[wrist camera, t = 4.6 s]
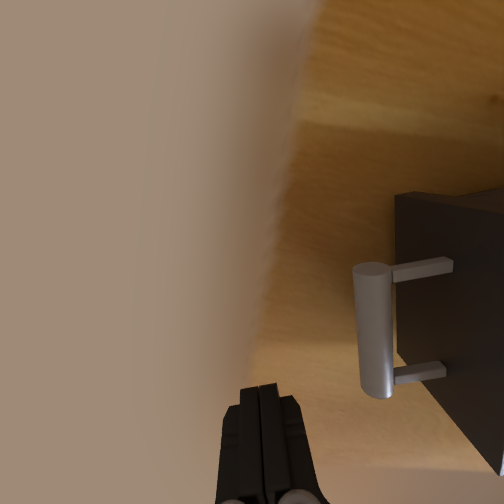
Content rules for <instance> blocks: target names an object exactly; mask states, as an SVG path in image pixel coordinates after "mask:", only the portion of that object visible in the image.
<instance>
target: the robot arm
mask: <svg viewBox="0 0 504 504" xmlns="http://www.w3.org/2000/svg"><path fill="white" fill-rule="evenodd" d="M215 504H330V503H329V502H328V501H327V500H326V499H325V497H324V496H323V494H322V492H321V490H320V488H319V486H318V482H317V478H316V474H315V470H314V465H313V461H312V457H311V452H310V448H309V444H308V439H307V435H306V431H305V426H304V422H303V418H302V413H301V409H300V406H299V404H298V403H297V401H296V400H295V399H294V397H293V396H292V395H290V396H285V397H280V396H279V391H278V387H277V383H273V384H267V385H261V386H259V387H258V386H256V387H250V388H245V389H241V390H240V404H239V405H233V406H229V408H228V410H227V412H226V415H225V417H224V419H223V427H222V437H221V449H220V459H219V470H218V480H217V491H216V500H215Z"/></svg>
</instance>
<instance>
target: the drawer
mask: <svg viewBox="0 0 504 504" xmlns="http://www.w3.org/2000/svg"><path fill="white" fill-rule="evenodd" d="M395 253H396V265H394V266H389V265H387V264H385V263H381V262H363V263H359V264H357V265H355V266H354V267H353V269H352V271H353V285H354V299H355V313H356V327H357V340H358V354H359V368H360V382H361V387H362V389H363V391H364V392H365V393H366V394H367V395H369V396H371V397H373V398H376V399H386V398H389V397H390V396H391V395H392V394H393V392H394V384H395V385H399V384H405V383H411V382H417V381H421V382H422V384H423V385H424V386H425V387H426V388H427V390H428V391H429V392H430V393H431V395H432V396H433V397H434V398H435V399H436V401H437V402H438V403H439V404H440V405H441V407H442V408H443V409H444V410H445V412H446V413H447V414H448V415H449V416H450V418H451V419H452V420H453V421H454V422H455V424H456V425H457V426H458V427H459V429H460V430H461V431H462V432H463V433H464V435H465V436H466V437H467V438H468V439H469V441H470V442H471V443H472V444H473V446H474V447H475V448H476V449H477V450H478V452H479V453H480V454H481V455H482V456H483V458H484V459H485V460H486V461H487V463H488V464H489V465H490V466H491V467H492V469H493V470H494V471H495V472H496V473H497V475H498V476H503V475H504V188H499V189H493V190H488V191H483V192H478V193H473V194H467V195H462V196H457V197H453V196H446V195H438V194H431V193H423V192H415V191H414V192H409V193H404V194H398V195H395ZM395 282H396V323H397V353H398V354H399V356H400V357H401V358H402V359H403V361H404V362H405V363H406V364H407V365H408V366H402V367H396V368H393V324H392V283H395Z"/></svg>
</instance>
